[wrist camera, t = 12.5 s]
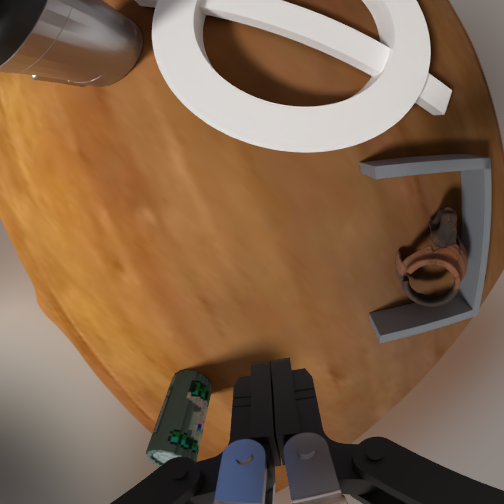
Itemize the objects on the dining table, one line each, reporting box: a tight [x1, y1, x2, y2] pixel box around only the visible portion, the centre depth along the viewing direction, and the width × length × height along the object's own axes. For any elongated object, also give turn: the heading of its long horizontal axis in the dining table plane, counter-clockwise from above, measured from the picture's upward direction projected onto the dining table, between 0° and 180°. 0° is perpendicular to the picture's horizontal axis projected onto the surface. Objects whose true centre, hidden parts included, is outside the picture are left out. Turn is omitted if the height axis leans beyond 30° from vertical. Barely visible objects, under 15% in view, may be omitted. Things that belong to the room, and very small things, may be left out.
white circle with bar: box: [134, 0, 452, 152], centre depth 22 cm, size 28×28×5 cm
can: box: [146, 369, 212, 466], centre depth 35 cm, size 6×6×15 cm
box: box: [359, 154, 491, 343], centre depth 29 cm, size 15×20×5 cm
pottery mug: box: [396, 207, 468, 307], centre depth 30 cm, size 12×10×8 cm
